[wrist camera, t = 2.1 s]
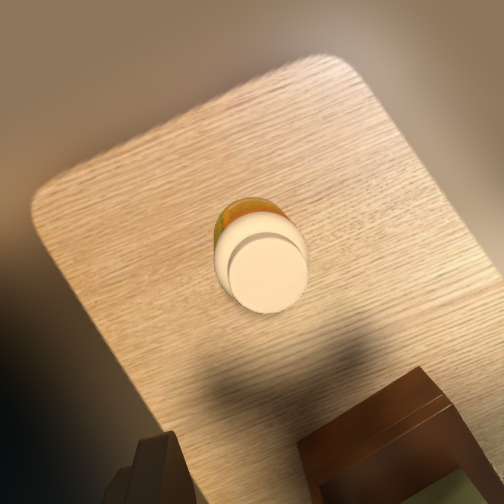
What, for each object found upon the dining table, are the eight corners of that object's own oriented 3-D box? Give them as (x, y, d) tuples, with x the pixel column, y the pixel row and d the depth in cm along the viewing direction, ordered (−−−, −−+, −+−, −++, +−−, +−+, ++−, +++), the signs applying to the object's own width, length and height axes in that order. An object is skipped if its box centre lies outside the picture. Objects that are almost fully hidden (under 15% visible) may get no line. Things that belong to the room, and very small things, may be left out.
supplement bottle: (208, 201, 29) (205, 232, 20) (284, 190, 29) (317, 215, 20) (219, 274, 30) (222, 335, 21) (292, 263, 31) (327, 318, 21)
